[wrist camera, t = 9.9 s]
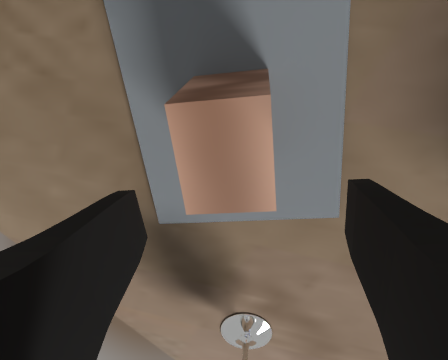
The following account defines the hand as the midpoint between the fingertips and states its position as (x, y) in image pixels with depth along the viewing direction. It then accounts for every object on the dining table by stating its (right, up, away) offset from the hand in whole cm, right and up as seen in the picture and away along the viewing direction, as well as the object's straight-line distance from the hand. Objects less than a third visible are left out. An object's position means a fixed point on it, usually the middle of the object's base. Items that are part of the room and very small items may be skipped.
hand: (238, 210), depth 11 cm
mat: (0, +5, +8) cm, 9 cm away
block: (0, +5, +7) cm, 9 cm away
